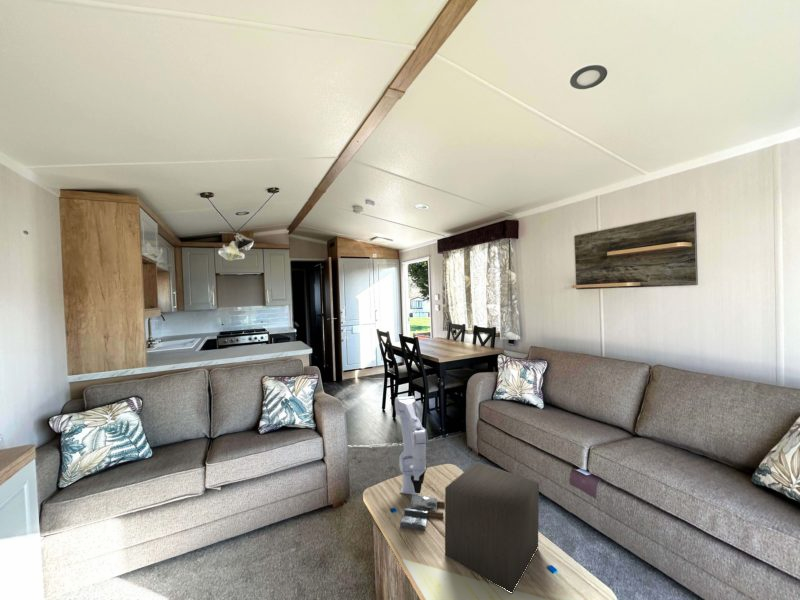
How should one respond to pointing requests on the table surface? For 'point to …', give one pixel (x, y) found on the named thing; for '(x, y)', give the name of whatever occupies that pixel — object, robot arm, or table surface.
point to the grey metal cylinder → (423, 503)
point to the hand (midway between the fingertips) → (419, 487)
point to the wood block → (492, 523)
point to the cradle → (414, 519)
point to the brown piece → (436, 513)
